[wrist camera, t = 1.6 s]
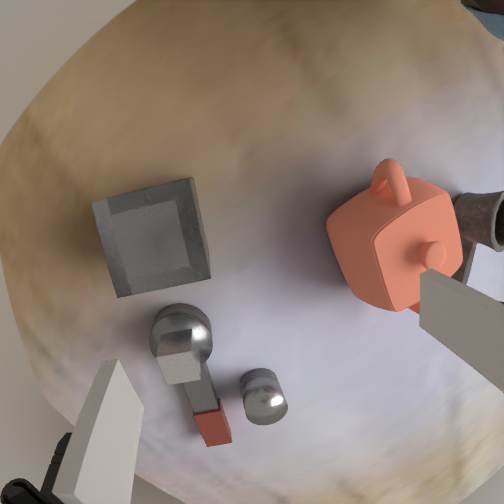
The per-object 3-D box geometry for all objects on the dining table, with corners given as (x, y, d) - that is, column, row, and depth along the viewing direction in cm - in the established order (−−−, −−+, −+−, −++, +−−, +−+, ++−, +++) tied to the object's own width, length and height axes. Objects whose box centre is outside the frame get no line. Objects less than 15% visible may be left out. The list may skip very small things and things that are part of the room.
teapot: (388, 141, 29) (455, 135, 19) (430, 280, 34) (487, 311, 24) (297, 185, 29) (345, 191, 19) (357, 328, 34) (404, 377, 24)
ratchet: (146, 309, 30) (133, 345, 23) (203, 297, 30) (204, 331, 23) (196, 435, 35) (197, 476, 28) (241, 427, 35) (249, 468, 29)
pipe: (427, 274, 34) (470, 296, 26) (452, 175, 31) (499, 180, 24) (456, 280, 35) (496, 301, 28) (479, 190, 33) (523, 197, 25)
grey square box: (120, 194, 27) (91, 202, 19) (193, 177, 27) (189, 177, 20) (138, 266, 28) (117, 297, 21) (208, 251, 29) (210, 278, 22)
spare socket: (236, 373, 33) (241, 401, 28) (274, 364, 33) (285, 391, 29) (243, 400, 34) (249, 428, 29) (279, 391, 35) (289, 419, 30)
